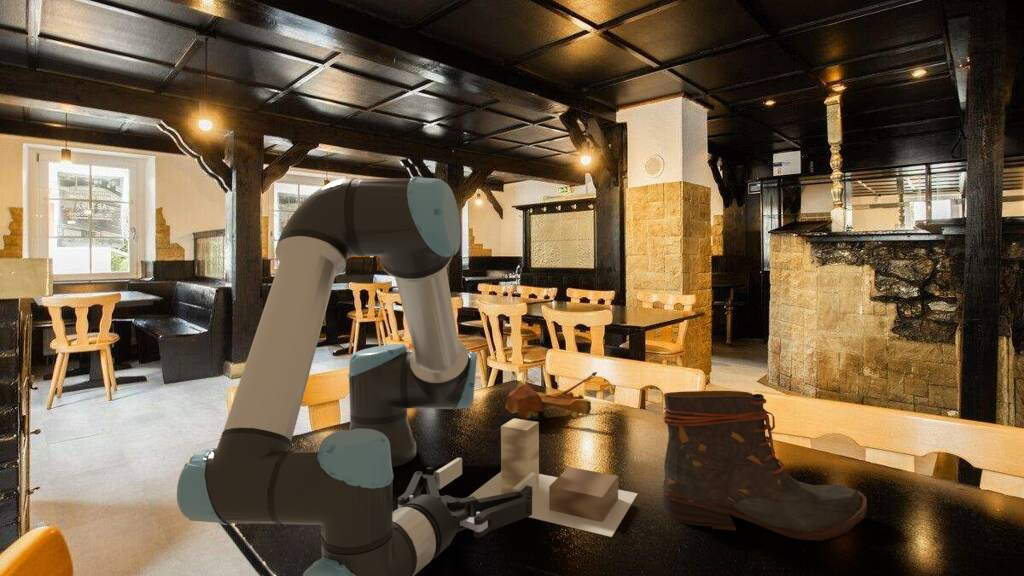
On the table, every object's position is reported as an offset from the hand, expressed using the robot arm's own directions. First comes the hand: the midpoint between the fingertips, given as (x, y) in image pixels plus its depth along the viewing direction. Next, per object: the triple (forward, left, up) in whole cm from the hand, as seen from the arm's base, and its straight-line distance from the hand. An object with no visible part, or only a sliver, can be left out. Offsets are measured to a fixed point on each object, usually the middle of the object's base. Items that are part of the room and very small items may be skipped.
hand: (495, 473), depth 85 cm
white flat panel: (+6, +9, -7) cm, 13 cm away
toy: (-12, +56, -7) cm, 57 cm away
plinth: (+12, +9, -7) cm, 16 cm away
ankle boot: (+39, +18, -7) cm, 43 cm away
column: (0, +9, -7) cm, 11 cm away
